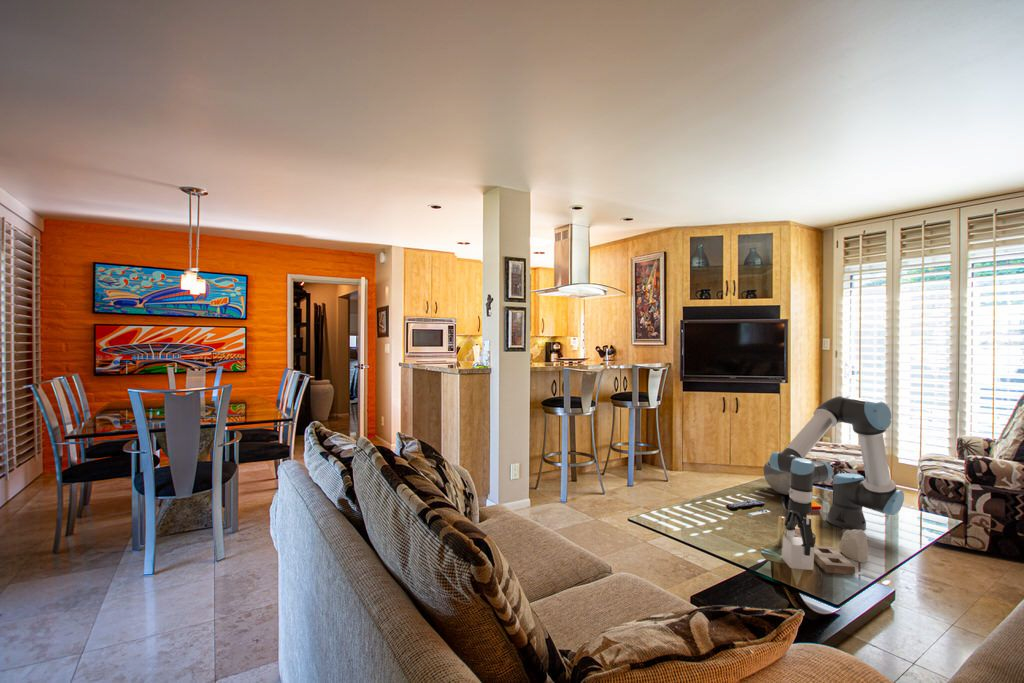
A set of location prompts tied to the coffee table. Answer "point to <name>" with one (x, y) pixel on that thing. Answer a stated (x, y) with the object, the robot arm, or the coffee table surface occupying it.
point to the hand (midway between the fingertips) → (797, 554)
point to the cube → (795, 553)
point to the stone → (854, 545)
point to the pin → (781, 530)
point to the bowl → (777, 479)
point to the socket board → (832, 560)
